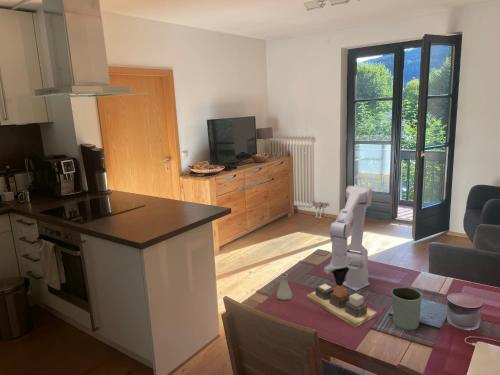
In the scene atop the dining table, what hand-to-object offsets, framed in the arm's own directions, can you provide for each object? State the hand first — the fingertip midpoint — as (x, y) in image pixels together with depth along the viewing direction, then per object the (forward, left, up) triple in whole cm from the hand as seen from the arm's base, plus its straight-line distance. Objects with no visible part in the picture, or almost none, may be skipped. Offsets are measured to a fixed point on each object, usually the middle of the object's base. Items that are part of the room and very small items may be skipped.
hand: (339, 284), depth 144 cm
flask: (+12, -20, -10) cm, 25 cm away
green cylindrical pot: (-10, +22, -10) cm, 26 cm away
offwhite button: (0, -8, -7) cm, 10 cm away
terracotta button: (0, 0, -4) cm, 4 cm away
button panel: (0, 0, -9) cm, 9 cm away
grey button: (0, +8, -4) cm, 9 cm away
